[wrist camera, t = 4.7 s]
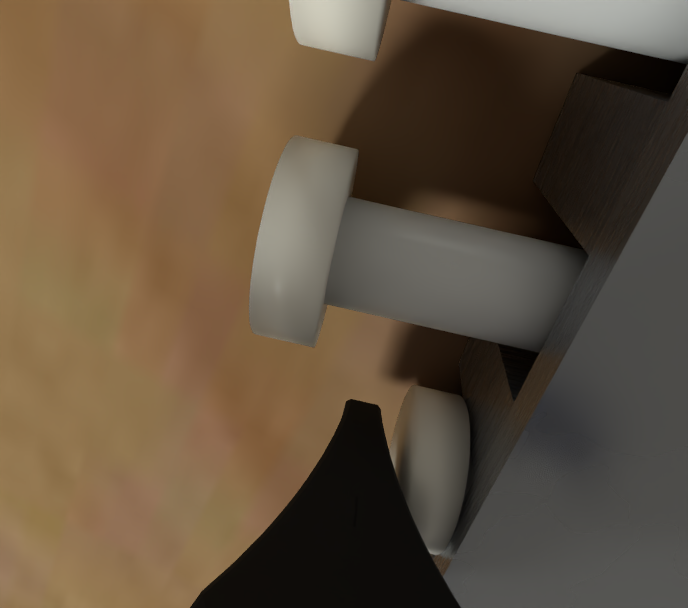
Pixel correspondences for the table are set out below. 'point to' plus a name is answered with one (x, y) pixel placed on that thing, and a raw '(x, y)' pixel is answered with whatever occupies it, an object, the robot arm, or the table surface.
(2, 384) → the table surface
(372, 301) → the knob middle
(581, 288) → the rack
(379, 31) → the knob
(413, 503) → the knob
